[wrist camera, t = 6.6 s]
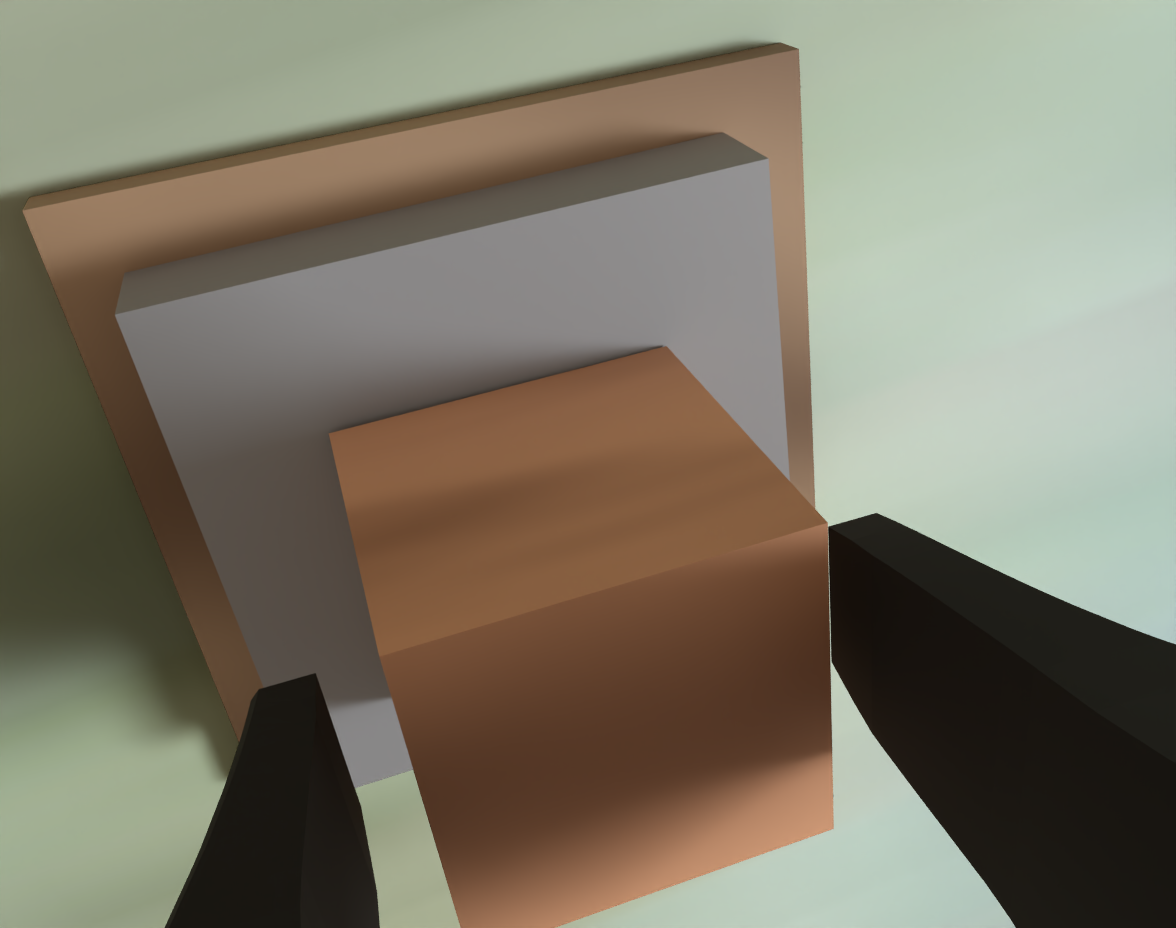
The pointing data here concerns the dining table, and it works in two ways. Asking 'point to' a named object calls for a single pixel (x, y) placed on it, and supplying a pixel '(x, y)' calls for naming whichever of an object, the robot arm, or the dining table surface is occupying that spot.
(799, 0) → the dining table surface
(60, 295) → the walnut base slab
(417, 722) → the terracotta cube
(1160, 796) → the robot arm
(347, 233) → the slate top slab
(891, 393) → the dining table surface
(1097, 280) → the dining table surface
